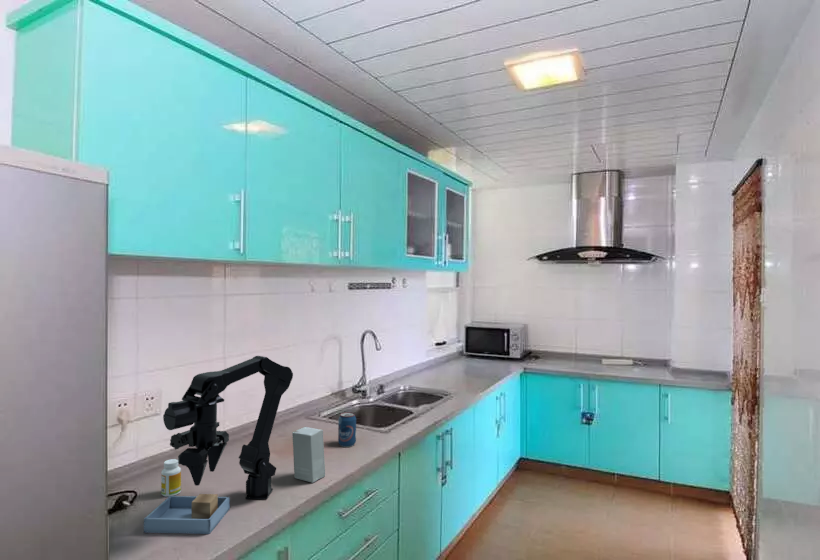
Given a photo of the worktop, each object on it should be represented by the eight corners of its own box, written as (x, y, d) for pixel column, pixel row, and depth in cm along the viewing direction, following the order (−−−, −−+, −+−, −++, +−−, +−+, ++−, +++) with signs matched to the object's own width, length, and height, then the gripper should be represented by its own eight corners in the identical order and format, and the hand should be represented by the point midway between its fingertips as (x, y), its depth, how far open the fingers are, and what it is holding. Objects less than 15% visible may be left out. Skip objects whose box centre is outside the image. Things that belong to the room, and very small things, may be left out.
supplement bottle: (183, 489, 152) (184, 458, 152) (176, 497, 146) (176, 464, 146) (166, 489, 152) (166, 458, 152) (157, 497, 146) (158, 464, 146)
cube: (217, 512, 136) (217, 494, 136) (210, 521, 131) (210, 502, 131) (199, 511, 136) (199, 493, 136) (191, 520, 131) (191, 502, 131)
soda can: (337, 447, 190) (337, 416, 189) (339, 441, 196) (339, 411, 196) (355, 447, 190) (355, 416, 190) (356, 441, 197) (356, 411, 197)
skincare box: (325, 476, 162) (326, 429, 162) (310, 484, 156) (311, 435, 156) (306, 471, 167) (306, 424, 166) (291, 478, 160) (291, 430, 160)
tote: (229, 509, 139) (229, 497, 139) (209, 533, 126) (209, 520, 126) (169, 508, 140) (169, 495, 140) (143, 532, 126) (143, 518, 126)
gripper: (192, 411, 143) (191, 464, 143) (157, 431, 124) (157, 492, 124) (229, 411, 143) (229, 465, 143) (201, 432, 124) (200, 493, 124)
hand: (204, 478), depth 134 cm, fingers open, 9 cm apart
